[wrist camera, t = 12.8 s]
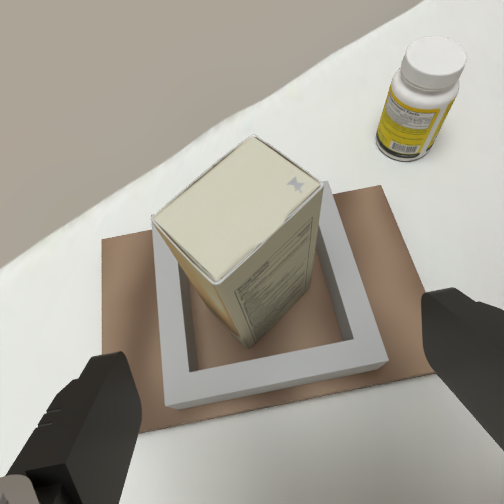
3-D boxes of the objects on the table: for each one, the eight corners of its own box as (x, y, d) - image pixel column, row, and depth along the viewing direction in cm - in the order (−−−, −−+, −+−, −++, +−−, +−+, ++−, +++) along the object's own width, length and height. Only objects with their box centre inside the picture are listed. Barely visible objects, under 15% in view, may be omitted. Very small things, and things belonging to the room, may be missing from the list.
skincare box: (267, 249, 28) (257, 125, 17) (312, 287, 26) (332, 178, 15) (201, 309, 26) (143, 215, 15) (245, 355, 25) (215, 286, 14)
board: (376, 196, 31) (380, 185, 30) (447, 370, 25) (456, 366, 23) (109, 248, 31) (101, 239, 29) (112, 439, 24) (102, 438, 23)
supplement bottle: (410, 114, 35) (445, 23, 27) (442, 149, 33) (490, 62, 25) (364, 133, 34) (386, 46, 27) (394, 170, 32) (428, 87, 25)
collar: (323, 204, 29) (327, 180, 27) (376, 369, 24) (389, 360, 21) (163, 235, 29) (150, 214, 26) (178, 410, 23) (164, 405, 21)
